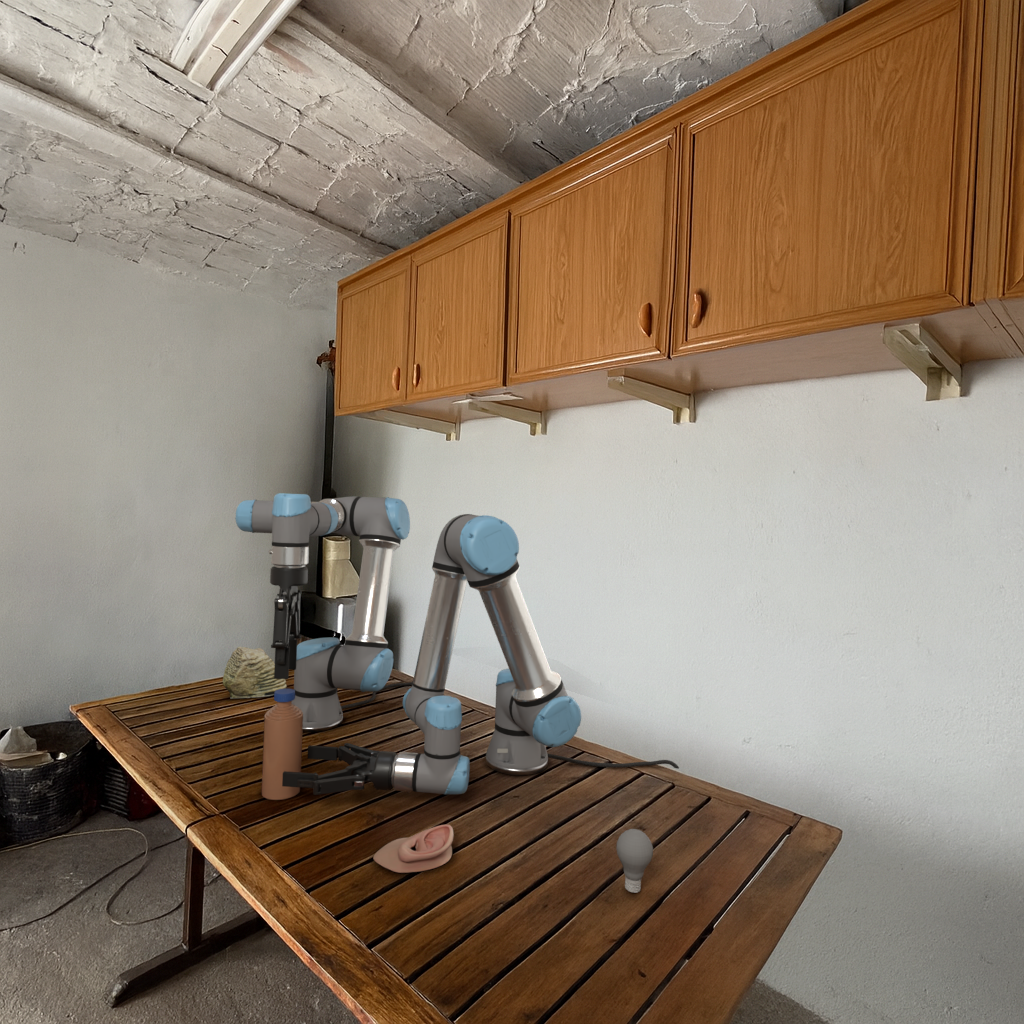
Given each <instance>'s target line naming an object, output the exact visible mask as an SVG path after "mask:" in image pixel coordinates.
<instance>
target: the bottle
mask: <svg viewBox="0 0 1024 1024" xmlns="http://www.w3.org/2000/svg"><path fill="white" fill-rule="evenodd" d="M302 731H303V712H302V710H301V709H300V708H298V707H297V706H296V705H294V704H293V703H292V701H289V702H277V701H276V704H275V705H274V706H272V707H270V708H269V709H268V710H267V711H266V712H265V714H264V718H263V744H262V746H263V747H262V770H261V771H262V772H261V796H262V797H263V798H265V799H267V800H272V801H280V800H287V799H290V798H293V797H295V796H296V795H299V793H300V792H301V788H300V787H285V786H282V779H283V772H284V771H286V772H302V757H303V755H302V754H303V752H302V751H303V732H302Z"/></svg>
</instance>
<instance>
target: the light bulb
mask: <svg viewBox="0 0 1024 1024" xmlns="http://www.w3.org/2000/svg"><path fill="white" fill-rule="evenodd" d="M615 849H616V854H617V857H618V859H619V861H620V863H621V865H622V867H623V873H624V874H623V875H624V876H625V878H624V888H625V890H627V891H628V892H630V893H634V894H635V893H639V892H640V891H641V889H642V887H641V886H642V879H643V877H644V875H645V871H646V868H647V867H648V866H649V864H650V863H651V861H652V859H653V855H654V847H653V843H652V841H651V838H649V836H648V835H647V834H646V833H645V832H643V831H642V830H641V829H636V828H629V829H627V830H625V831H623V832H622V833H621V834H620V835H619V837H618V839H617V841H616V847H615Z"/></svg>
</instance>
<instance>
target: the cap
mask: <svg viewBox="0 0 1024 1024" xmlns="http://www.w3.org/2000/svg"><path fill="white" fill-rule="evenodd" d="M294 699H295V690H294V688H287V687H286V689H279V690H276V691H275V694H274V695H273V700H274V701H275V702H276V703H277V702H289V701H292V700H294Z"/></svg>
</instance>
